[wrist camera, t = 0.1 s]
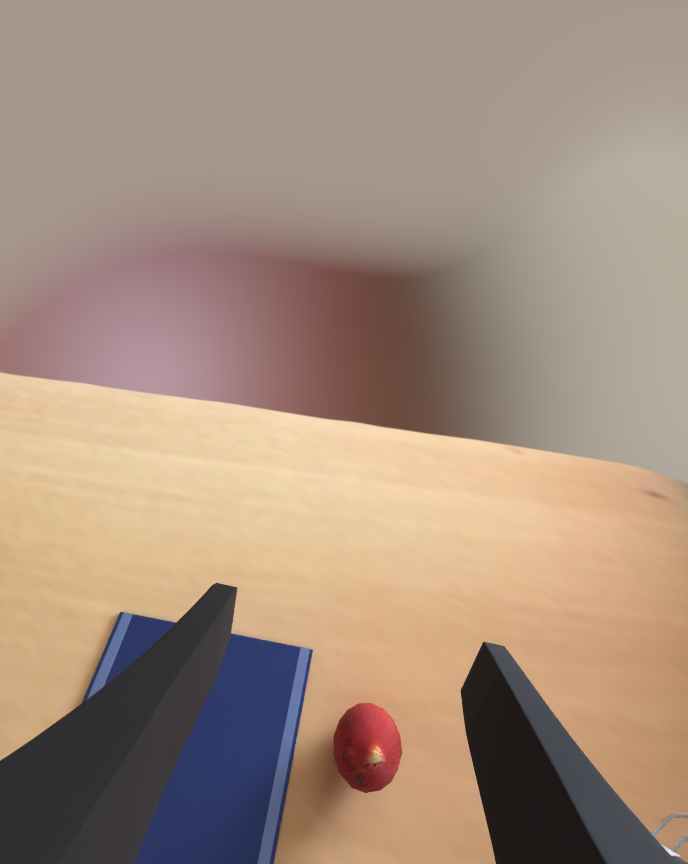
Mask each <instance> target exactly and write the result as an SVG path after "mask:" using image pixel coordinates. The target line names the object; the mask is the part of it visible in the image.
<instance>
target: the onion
mask: <svg viewBox="0 0 688 864" xmlns="http://www.w3.org/2000/svg"><path fill="white" fill-rule="evenodd" d="M333 754H334V757H335V761H336V765H337V768H338V771H339V773H340V774H341V775H342V776H343V778H344V779H345V780H346V781H347V783H348V784H349V785H350V786H351V788H354V789H357V790H359V791H362V792H364V793H367V792H373V791H379V790H381V789H383V788H384V787H385V786H386V785H388V784H389V783H390V782H391V781H392V779H393V777H394V776H395V774H396V772H397V770H398V767H399V763H400V759H401V755H402V747H401V739H400V734H399V731H398V729H397V727H396V725H395V722H394V720H393V719H392V718H391V717H390V715H389V714H388V713H387V712H386V711H385V710H384V709H382V708H380V707H378V706H376V705H374V704H372V703H359V704H357V705H355V706H354V707H352V708H351V709H349V710H347V712H346V713H345V714H344V715H343V717H342V718H341V719H340V720H339V723H338V726H337V729H336V732H335V735H334V751H333Z"/></svg>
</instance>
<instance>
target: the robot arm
mask: <svg viewBox="0 0 688 864" xmlns="http://www.w3.org/2000/svg"><path fill="white" fill-rule="evenodd" d="M236 593H237V587H233V586H228V585H223V584H219V583H216V584H214V585H212V586H211V587H210V588H209V589H208V591H207V592H206V593H205V594H204V595H203V596H202V597H201V598H200V599H199V600H198V601H197V602H196V604H195V605H194V606H193V607H192V608H191V609H190V610H189V611H188V612H187V613H186V614H185V615H184V616H183V617H182V618H181V619H180V620H179V621H178V622H177V623H176V624H175V625H173V626H172V627H171V628H170V629H169V630H168V631H167V632H166V633H165V634H164V635H163V636H162V637H161V638H160V639H159V640H158V641H157V642H155V643H154V644H153V645H152V646H151V647H150V648H149V649H148V650H147V651H145V652H144V653H143V654H142V655H141V656H140V657H138V658H137V659H136V660H135V661H134V662H133V663H131V664H130V665H129V666H128V667H127V668H126V669H124V670H123V671H122V672H121V673H120V674H119V675H117V676H116V677H115V678H114V679H112V680H111V681H110V682H109V683H108V684H106V685H105V686H104V687H103V688H101V689H100V690H99V691H98V692H96V693H95V694H94V695H92V696H91V697H90V698H88V699H87V700H86V701H85V702H83V703H82V704H81V705H79V706H78V707H77V708H75V709H74V710H73V711H71V712H70V713H69V714H67V715H66V716H64V717H63V718H62V719H60V720H59V721H57V722H56V723H55V724H53V725H52V726H50V727H49V728H48V729H46V730H45V731H43V732H42V733H41V734H39V735H38V736H36V737H35V738H34V739H32V740H31V741H29V742H28V743H26V744H25V745H23V746H22V747H20V748H19V749H17V750H16V751H15V752H13V753H12V754H10V755H9V756H7V757H5V758H4V759H2V760H1V761H0V864H135V861H136V858H137V856H138V853H139V851H140V848H141V846H142V843H143V841H144V838H145V835H146V833H147V830H148V828H149V825H150V823H151V820H152V818H153V815H154V813H155V810H156V807H157V805H158V802H159V800H160V798H161V795H162V793H163V791H164V788H165V786H166V784H167V782H168V779H169V777H170V775H171V773H172V771H173V768H174V766H175V764H176V762H177V760H178V758H179V756H180V754H181V752H182V749H183V747H184V745H185V743H186V741H187V739H188V737H189V735H190V733H191V730H192V728H193V726H194V724H195V722H196V720H197V718H198V716H199V714H200V711H201V709H202V707H203V705H204V703H205V701H206V699H207V697H208V694H209V692H210V690H211V688H212V686H213V684H214V682H215V679H216V677H217V674H218V671H219V669H220V666H221V663H222V661H223V658H224V655H225V652H226V649H227V647H228V644H229V641H230V636H231V629H232V622H233V615H234V608H235V600H236ZM461 697H462V706H463V714H464V721H465V729H466V735H467V740H468V744H469V748H470V753H471V757H472V761H473V766H474V770H475V774H476V779H477V783H478V787H479V791H480V795H481V800H482V804H483V808H484V812H485V816H486V821H487V825H488V829H489V833H490V838H491V842H492V846H493V851H494V856H495V861H496V864H678V863H677V862H676V860H675V859H674V858H673V857H672V856H671V855H670V854H669V853H668V852H667V851H666V850H665V849H664V847H663V846H662V845H661V844H660V843H659V842H658V841H657V840H656V839H655V837H654V836H653V835H652V834H651V833H650V832H649V831H648V829H647V828H646V827H645V826H644V825H643V824H642V823H641V821H640V820H639V819H638V818H637V817H636V816H635V815H634V814H633V812H632V811H631V810H630V809H629V808H628V807H627V806H626V804H625V803H624V802H623V801H622V800H621V798H620V797H619V796H618V795H617V794H616V793H615V791H614V790H613V789H612V788H611V787H610V785H609V784H608V783H607V782H606V780H605V779H604V778H603V777H602V775H601V774H600V773H599V772H598V770H597V769H596V768H595V767H594V765H593V764H592V763H591V762H590V761H589V759H588V758H587V757H586V756H585V754H584V753H583V752H582V750H581V749H580V748H579V747H578V745H577V744H576V743H575V741H574V740H573V739H572V738H571V736H570V735H569V734H568V732H567V731H566V730H565V728H564V727H563V726H562V724H561V723H560V722H559V720H558V719H557V718H556V716H555V715H554V714H553V712H552V711H551V710H550V708H549V707H548V705H547V704H546V703H545V701H544V700H543V699H542V697H541V696H540V694H539V693H538V692H537V690H536V689H535V688H534V686H533V685H532V683H531V682H530V681H529V679H528V678H527V676H526V675H525V674H524V672H523V671H522V670H521V668H520V667H519V665H518V664H517V663H516V661H515V660H514V659H513V657H512V656H511V654H510V653H509V652H508V650H507V649H506V648H505V647H504V646H501V645H496V644H492V643H487V642H483V644H482V646H481V648H480V650H479V652H478V655H477V657H476V659H475V661H474V663H473V665H472V667H471V670H470V672H469V674H468V676H467V678H466V680H465V682H464V685H463V687H462V689H461Z"/></svg>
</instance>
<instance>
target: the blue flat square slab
mask: <svg viewBox="0 0 688 864" xmlns="http://www.w3.org/2000/svg"><path fill="white" fill-rule="evenodd" d="M175 624H176V623H174V622H169V621H164V620H159V619H154V618H149V617H144V616H139V615H134V614H129V613H124V612H120V614H119V617H118V619H117V622H116V624H115V626H114V629H113V631H112V633H111V636H110V638H109V640H108V643H107V645H106V648H105V650H104V652H103V655H102V657H101V659H100V662H99V664H98V666H97V669H96V671H95V674H94V676H93V678H92V681H91V683H90V685H89V688H88V690H87V692H86V695H85V697H84V700H83V702H85V701H86V700H87V699H88V698H90V697H91V696H92V695H94V694H95V693H96V692H98V691H99V690H100V689H101V688H103V687H104V686H105V685H106V684H108V683H109V682H110V681H111V680H112V679H114V678H115V677H116V676H117V675H119V674H120V673H121V672H122V671H123V670H124V669H126V668H127V667H128V666H129V665H130V664H131V663H133V662H134V661H135V660H136V659H137V658H138V657H140V656H141V655H142V654H143V653H144V652H145V651H147V650H148V649H149V648H150V647H151V646H152V645H153V644H154V643H155V642H157V641H158V640H159V639H160V638H161V637H162V636H163V635H164V634H165V633H166V632H167V631H168V630H169V629H170V628H171V627H172V626H173V625H175ZM312 651H313V650H311V649H306V648H301V647H296V646H291V645H286V644H281V643H276V642H271V641H266V640H261V639H256V638H250V637H245V636H240V635H235V634H231V636H230V641H229V644H228V647H227V649H226V652H225V655H224V658H223V661H222V663H221V666H220V669H219V671H218V674H217V677H216V679H215V682H214V684H213V686H212V688H211V690H210V692H209V694H208V697H207V699H206V701H205V703H204V705H203V707H202V709H201V711H200V714H199V716H198V718H197V720H196V722H195V724H194V726H193V728H192V730H191V733H190V735H189V737H188V739H187V741H186V743H185V745H184V747H183V749H182V752H181V754H180V756H179V758H178V760H177V762H176V764H175V766H174V768H173V771H172V773H171V775H170V777H169V779H168V782H167V784H166V786H165V788H164V791H163V793H162V795H161V798H160V800H159V802H158V805H157V807H156V810H155V813H154V815H153V818H152V820H151V823H150V825H149V828H148V830H147V833H146V835H145V838H144V841H143V843H142V846H141V848H140V851H139V853H138V856H137V858H136V861H135V864H273V863H274V858H275V852H276V847H277V841H278V836H279V830H280V825H281V820H282V814H283V809H284V803H285V798H286V792H287V787H288V782H289V776H290V771H291V765H292V760H293V754H294V749H295V744H296V738H297V733H298V727H299V722H300V716H301V711H302V705H303V700H304V695H305V689H306V684H307V678H308V673H309V667H310V662H311V657H312ZM83 702H82V703H83Z"/></svg>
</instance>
